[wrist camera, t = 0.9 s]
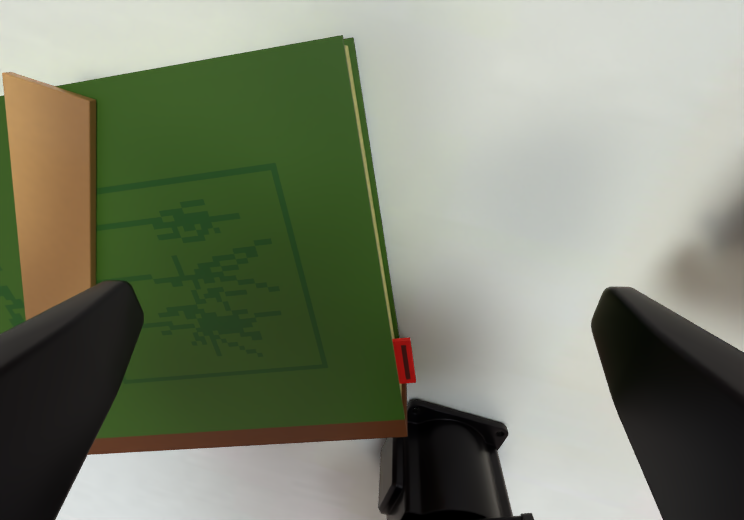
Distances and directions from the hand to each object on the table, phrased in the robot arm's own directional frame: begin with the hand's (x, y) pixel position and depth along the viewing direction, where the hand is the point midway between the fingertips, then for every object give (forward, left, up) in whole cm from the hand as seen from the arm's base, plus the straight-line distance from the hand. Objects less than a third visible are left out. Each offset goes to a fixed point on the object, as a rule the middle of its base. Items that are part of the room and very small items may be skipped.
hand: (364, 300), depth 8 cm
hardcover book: (+9, +10, -13) cm, 18 cm away
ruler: (+12, +10, -9) cm, 18 cm away
